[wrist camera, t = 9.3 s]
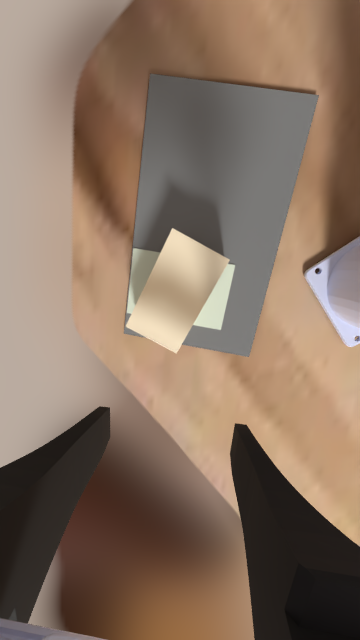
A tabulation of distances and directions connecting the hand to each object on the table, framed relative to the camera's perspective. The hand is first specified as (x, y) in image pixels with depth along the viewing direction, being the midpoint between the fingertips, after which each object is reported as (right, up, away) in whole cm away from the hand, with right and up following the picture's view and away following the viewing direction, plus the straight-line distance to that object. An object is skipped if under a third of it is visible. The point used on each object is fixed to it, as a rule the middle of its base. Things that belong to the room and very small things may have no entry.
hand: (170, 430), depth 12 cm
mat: (+3, +14, +6) cm, 15 cm away
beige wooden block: (0, +9, +7) cm, 11 cm away
